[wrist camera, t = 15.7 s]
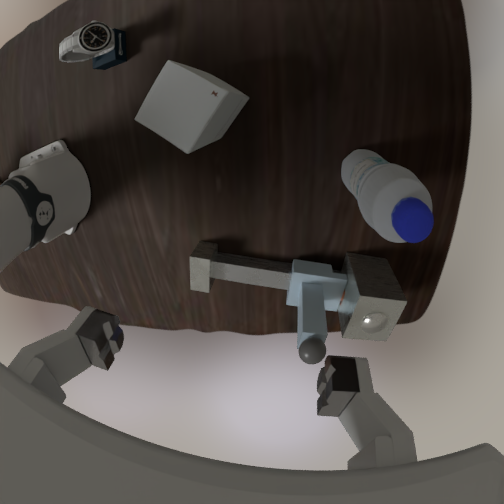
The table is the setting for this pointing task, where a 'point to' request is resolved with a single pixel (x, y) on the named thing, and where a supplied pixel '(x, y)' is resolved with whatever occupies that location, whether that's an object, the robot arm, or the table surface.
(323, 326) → the ball-topped pillar
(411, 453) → the robot arm
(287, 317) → the table surface
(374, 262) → the grey slide rail
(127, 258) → the table surface
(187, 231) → the table surface
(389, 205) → the bottle
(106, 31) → the watch
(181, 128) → the supplement box
